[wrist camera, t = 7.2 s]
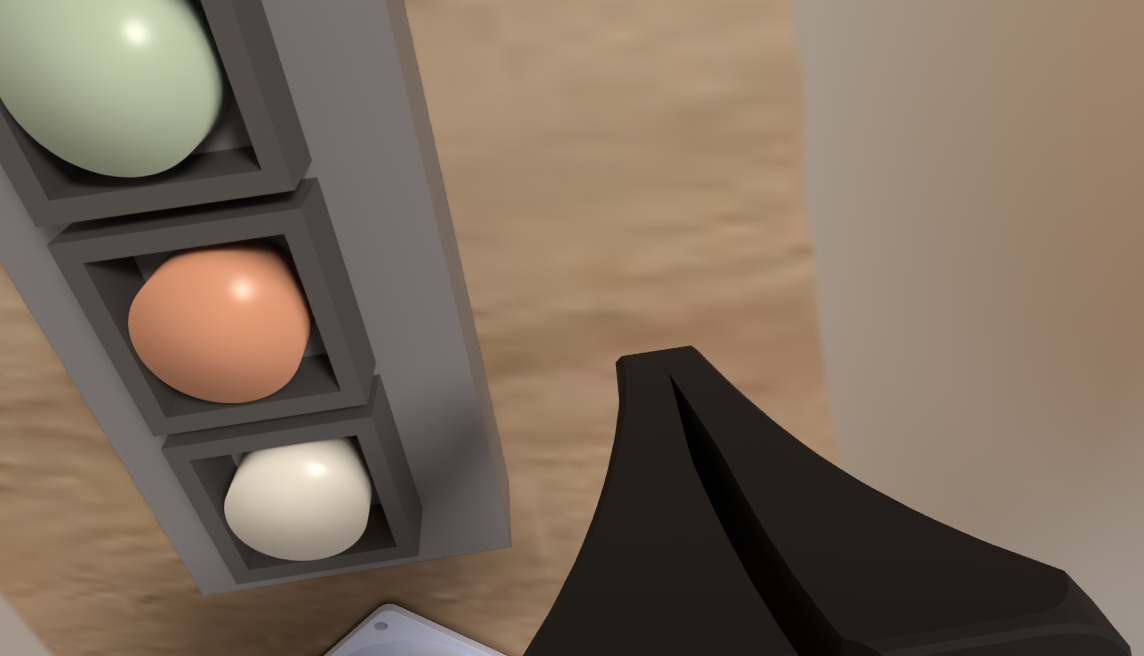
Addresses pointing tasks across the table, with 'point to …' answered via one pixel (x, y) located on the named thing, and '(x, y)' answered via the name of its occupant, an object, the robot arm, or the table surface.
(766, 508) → the robot arm
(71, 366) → the charcoal button panel
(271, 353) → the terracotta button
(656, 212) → the table surface
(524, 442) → the table surface
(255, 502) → the cream button
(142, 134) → the sage button
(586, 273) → the table surface
